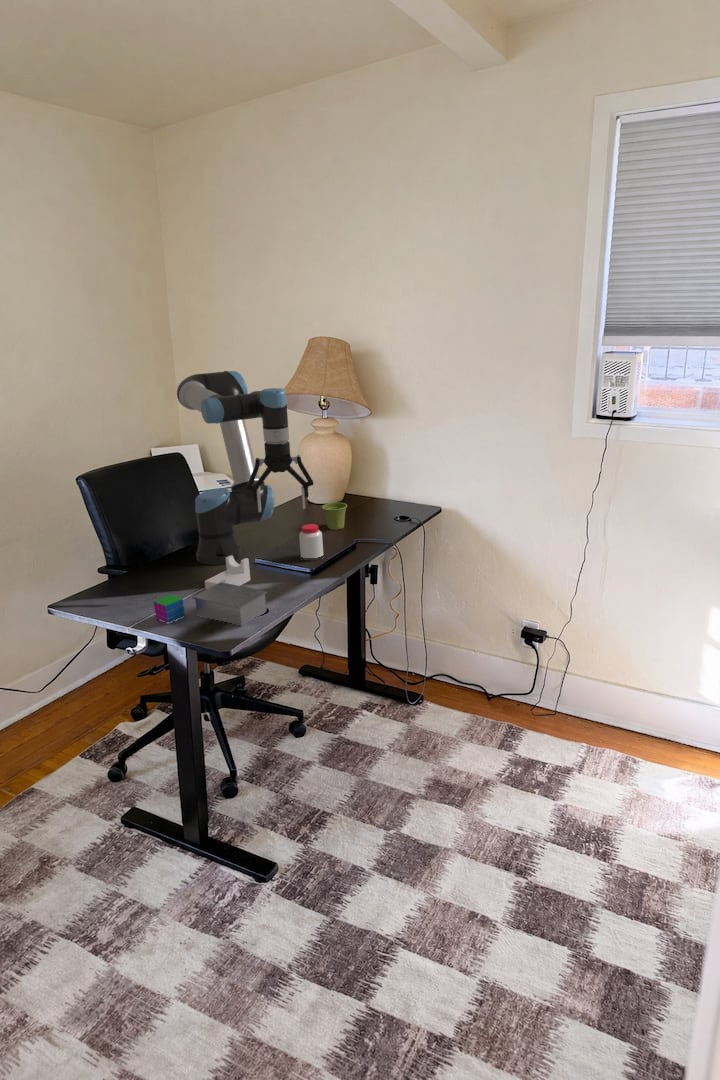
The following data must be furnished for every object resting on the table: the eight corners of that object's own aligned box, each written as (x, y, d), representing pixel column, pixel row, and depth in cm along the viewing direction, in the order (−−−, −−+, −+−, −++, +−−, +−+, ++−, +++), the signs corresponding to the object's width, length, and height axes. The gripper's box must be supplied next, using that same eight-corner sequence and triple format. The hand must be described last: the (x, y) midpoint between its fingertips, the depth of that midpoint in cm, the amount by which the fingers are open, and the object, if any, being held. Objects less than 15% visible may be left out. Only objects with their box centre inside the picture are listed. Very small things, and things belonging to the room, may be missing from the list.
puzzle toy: (185, 617, 206) (182, 598, 204) (168, 624, 202) (165, 605, 200) (173, 613, 209) (170, 594, 208) (156, 620, 205) (153, 601, 204)
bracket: (233, 577, 234) (230, 555, 232) (250, 580, 231) (248, 558, 228) (205, 591, 224) (203, 568, 221) (223, 595, 220) (220, 572, 218)
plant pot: (345, 531, 273) (344, 509, 270) (321, 531, 274) (319, 509, 272) (350, 524, 281) (349, 502, 279) (326, 524, 283) (324, 502, 280)
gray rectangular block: (194, 616, 206) (192, 597, 204) (222, 600, 216) (220, 582, 214) (242, 627, 198) (239, 607, 196) (269, 610, 207) (267, 591, 205)
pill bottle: (320, 561, 244) (318, 530, 240) (298, 561, 245) (295, 529, 242) (326, 553, 251) (324, 523, 247) (304, 553, 252) (302, 522, 249)
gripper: (234, 446, 214) (240, 515, 221) (319, 441, 216) (323, 509, 223) (235, 441, 221) (241, 508, 228) (317, 436, 223) (321, 502, 230)
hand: (282, 509), depth 225 cm, fingers open, 13 cm apart
